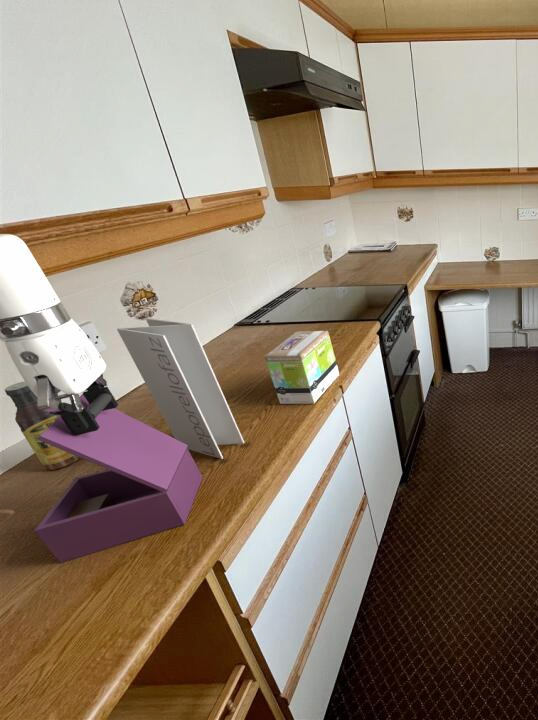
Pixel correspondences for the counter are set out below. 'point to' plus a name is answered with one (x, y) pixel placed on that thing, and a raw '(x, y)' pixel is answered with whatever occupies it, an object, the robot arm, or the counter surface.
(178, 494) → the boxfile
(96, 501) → the block
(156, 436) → the file lid
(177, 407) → the brochure
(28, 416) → the sauce bottle
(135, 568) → the counter surface
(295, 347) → the tea box
